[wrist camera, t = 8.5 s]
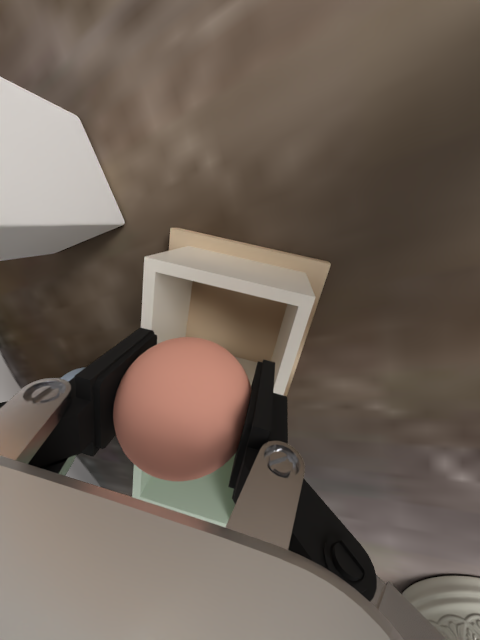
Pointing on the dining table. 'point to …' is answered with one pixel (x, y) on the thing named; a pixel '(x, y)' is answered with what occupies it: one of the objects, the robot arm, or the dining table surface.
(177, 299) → the cream cup
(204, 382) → the coral ball
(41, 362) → the dining table surface
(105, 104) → the dining table surface
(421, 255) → the dining table surface
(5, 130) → the milk carton
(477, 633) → the jar
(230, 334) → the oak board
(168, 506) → the sage cup
